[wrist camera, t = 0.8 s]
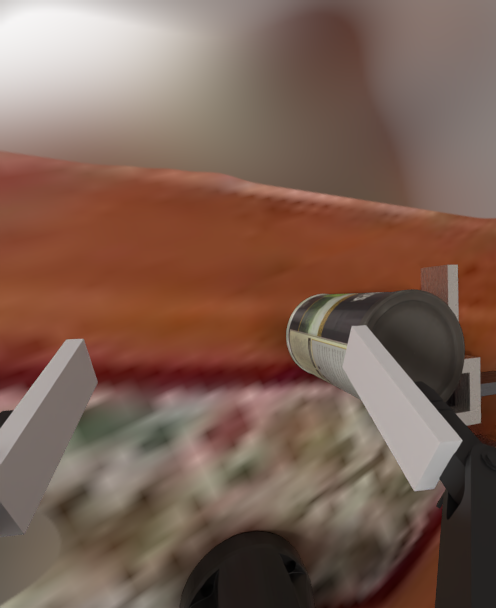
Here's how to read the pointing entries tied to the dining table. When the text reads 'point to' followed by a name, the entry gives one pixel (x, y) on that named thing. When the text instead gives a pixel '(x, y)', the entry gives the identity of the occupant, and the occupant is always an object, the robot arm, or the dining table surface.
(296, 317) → the coffee can
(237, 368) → the dining table surface
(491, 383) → the grey flat branched piece
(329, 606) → the dining table surface
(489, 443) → the pin
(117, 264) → the dining table surface
